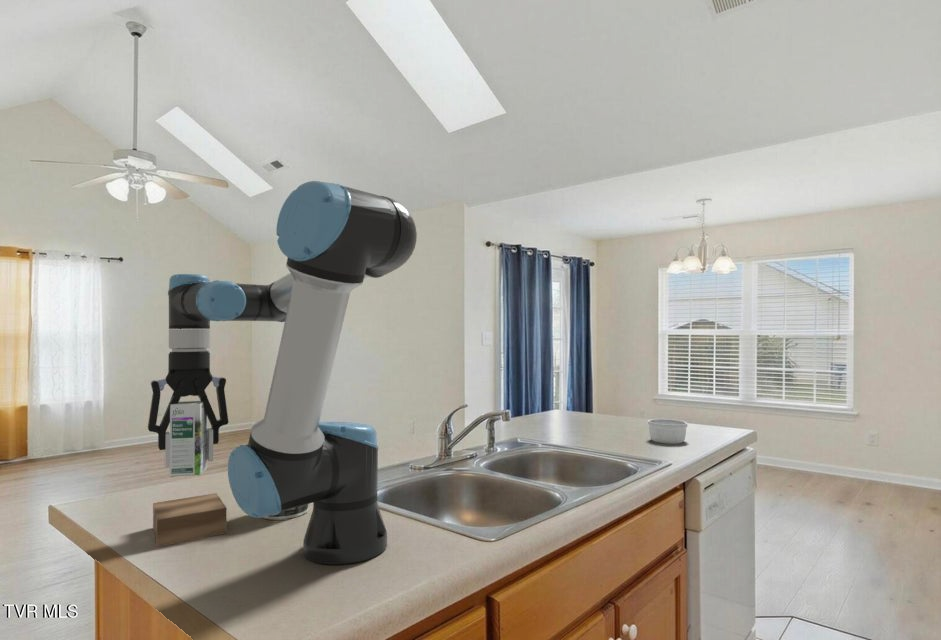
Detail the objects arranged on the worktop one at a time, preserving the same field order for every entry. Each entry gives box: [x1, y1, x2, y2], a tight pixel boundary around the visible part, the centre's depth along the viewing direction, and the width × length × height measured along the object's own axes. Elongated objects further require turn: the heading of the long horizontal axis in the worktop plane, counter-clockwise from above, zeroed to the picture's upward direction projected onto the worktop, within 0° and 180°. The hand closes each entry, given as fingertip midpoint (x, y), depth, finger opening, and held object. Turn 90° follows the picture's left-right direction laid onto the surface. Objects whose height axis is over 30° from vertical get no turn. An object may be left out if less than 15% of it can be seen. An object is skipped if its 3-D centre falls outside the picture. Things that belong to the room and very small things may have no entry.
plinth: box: [152, 492, 227, 547], centre depth 110 cm, size 12×12×5 cm
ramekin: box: [647, 418, 688, 445], centre depth 194 cm, size 13×13×7 cm
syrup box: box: [169, 400, 208, 478], centre depth 111 cm, size 6×6×14 cm
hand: (189, 462), depth 110 cm, fingers closed on syrup box, 7 cm apart
